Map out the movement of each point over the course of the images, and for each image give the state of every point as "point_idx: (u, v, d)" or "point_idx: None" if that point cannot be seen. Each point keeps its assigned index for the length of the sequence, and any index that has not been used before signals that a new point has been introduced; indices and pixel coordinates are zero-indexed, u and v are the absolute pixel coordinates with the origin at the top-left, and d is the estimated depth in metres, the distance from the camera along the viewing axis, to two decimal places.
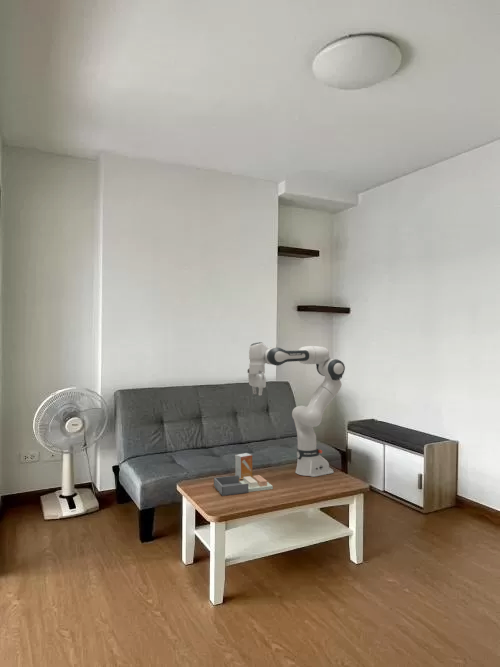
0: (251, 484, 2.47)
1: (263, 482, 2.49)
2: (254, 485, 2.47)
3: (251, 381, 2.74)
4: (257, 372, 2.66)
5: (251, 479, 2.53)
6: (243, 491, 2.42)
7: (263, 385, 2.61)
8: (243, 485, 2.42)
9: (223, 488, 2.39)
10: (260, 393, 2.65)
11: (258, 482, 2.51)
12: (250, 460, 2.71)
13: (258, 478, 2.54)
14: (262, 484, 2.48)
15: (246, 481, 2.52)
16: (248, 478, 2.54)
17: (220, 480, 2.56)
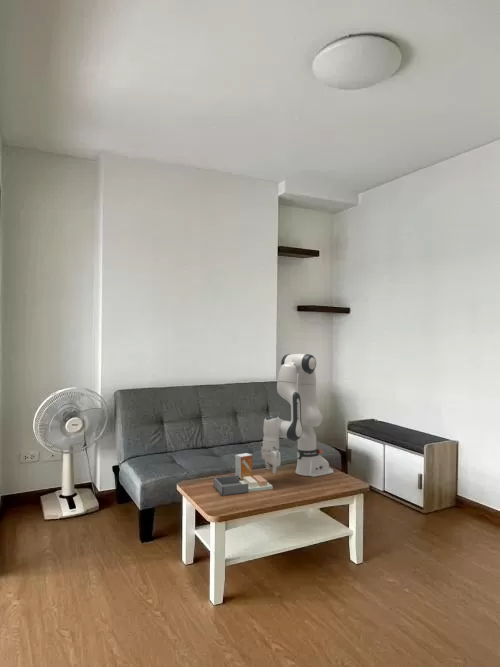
0: (251, 484, 2.47)
1: (263, 482, 2.49)
2: (254, 485, 2.47)
3: (264, 455, 2.61)
4: (271, 448, 2.52)
5: (251, 479, 2.53)
6: (243, 491, 2.42)
7: (278, 464, 2.47)
8: (243, 485, 2.42)
9: (223, 488, 2.39)
10: (274, 471, 2.51)
11: (258, 482, 2.51)
12: (250, 460, 2.71)
13: (258, 478, 2.54)
14: (262, 484, 2.48)
15: (246, 481, 2.52)
16: (248, 478, 2.54)
17: (220, 480, 2.56)
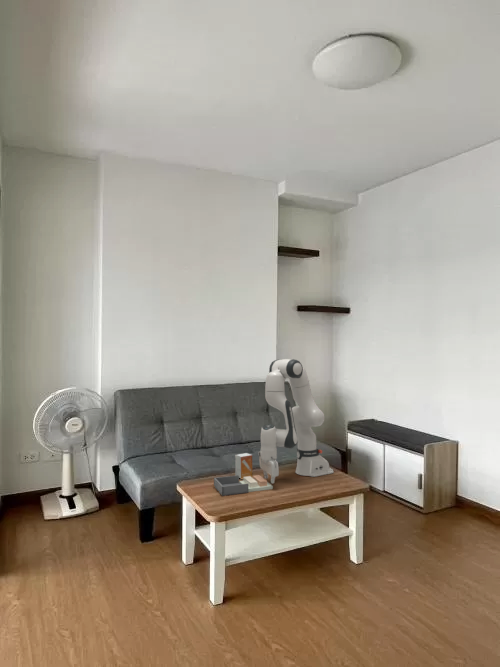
0: (251, 484, 2.47)
1: (263, 482, 2.49)
2: (254, 485, 2.47)
3: (262, 465, 2.60)
4: (269, 458, 2.52)
5: (251, 479, 2.53)
6: (243, 491, 2.42)
7: (276, 474, 2.47)
8: (243, 485, 2.42)
9: (223, 488, 2.39)
10: (272, 481, 2.51)
11: (258, 482, 2.51)
12: (250, 460, 2.71)
13: (258, 478, 2.54)
14: (262, 484, 2.48)
15: (246, 481, 2.52)
16: (248, 478, 2.54)
17: (220, 480, 2.56)
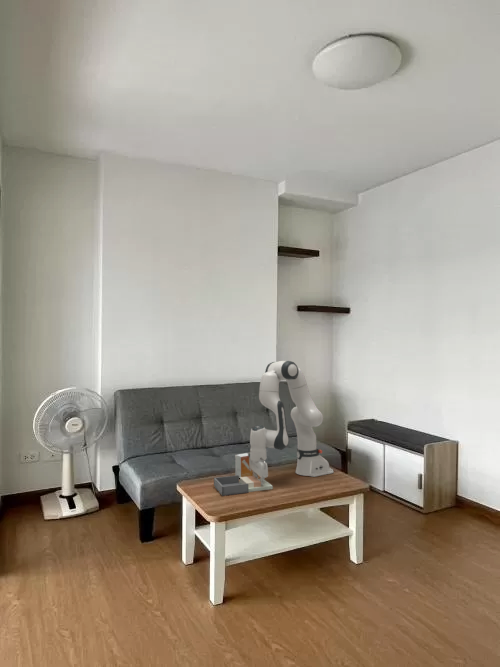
0: None
1: (257, 483, 2.48)
2: (250, 485, 2.46)
3: (252, 466, 2.58)
4: (258, 459, 2.50)
5: (247, 479, 2.52)
6: (243, 491, 2.42)
7: (265, 475, 2.45)
8: (243, 485, 2.42)
9: (223, 488, 2.39)
10: (262, 482, 2.49)
11: None
12: None
13: (252, 479, 2.53)
14: (256, 485, 2.47)
15: (242, 481, 2.52)
16: (245, 479, 2.53)
17: (220, 480, 2.56)
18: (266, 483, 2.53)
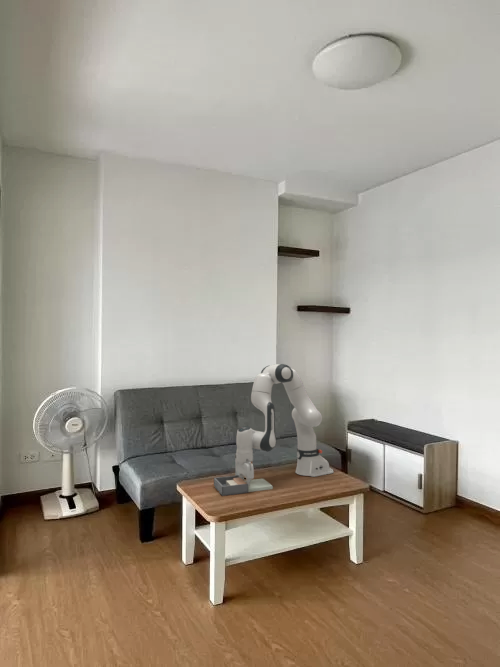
0: None
1: None
2: None
3: (238, 467, 2.56)
4: (245, 460, 2.48)
5: (233, 483, 2.49)
6: (243, 491, 2.42)
7: (251, 476, 2.42)
8: (243, 485, 2.42)
9: (223, 488, 2.39)
10: (248, 483, 2.46)
11: None
12: None
13: (238, 481, 2.51)
14: None
15: (228, 485, 2.49)
16: (231, 482, 2.51)
17: (220, 480, 2.56)
18: (266, 483, 2.53)
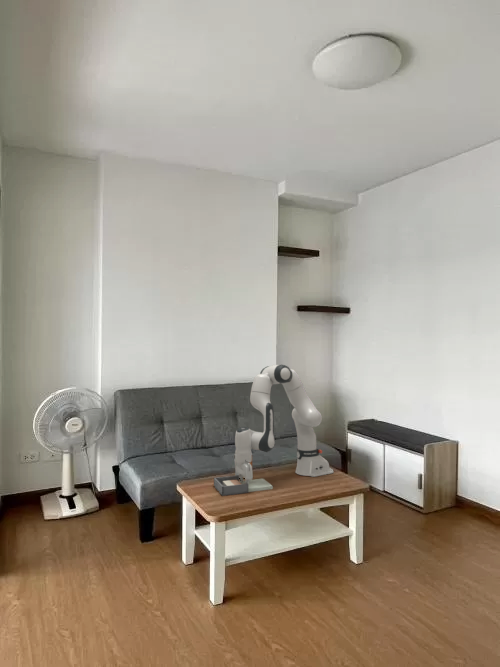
0: None
1: None
2: None
3: (237, 468, 2.56)
4: (243, 461, 2.48)
5: (230, 483, 2.49)
6: (243, 491, 2.42)
7: (249, 477, 2.42)
8: (243, 485, 2.42)
9: (223, 488, 2.39)
10: None
11: None
12: None
13: (234, 483, 2.50)
14: None
15: (225, 485, 2.49)
16: (227, 483, 2.50)
17: (220, 480, 2.56)
18: (266, 483, 2.53)
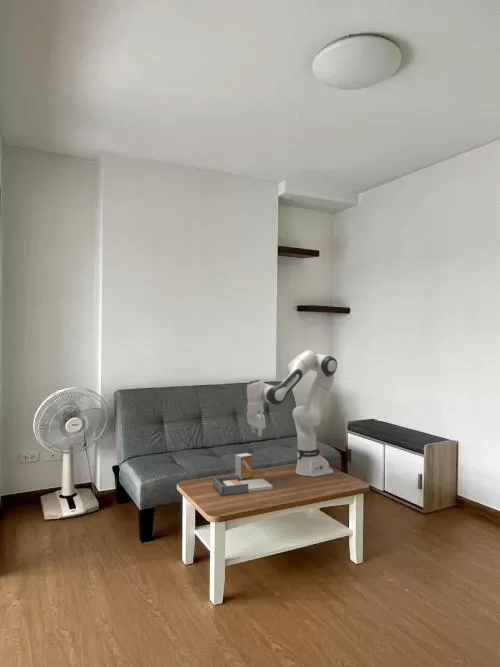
0: None
1: None
2: None
3: (250, 420, 2.65)
4: (256, 412, 2.56)
5: (230, 483, 2.49)
6: (243, 491, 2.42)
7: (262, 426, 2.51)
8: (243, 485, 2.42)
9: (223, 488, 2.39)
10: (260, 434, 2.55)
11: None
12: (250, 460, 2.71)
13: (234, 483, 2.50)
14: None
15: (225, 485, 2.49)
16: (227, 483, 2.50)
17: (220, 480, 2.56)
18: (266, 483, 2.53)
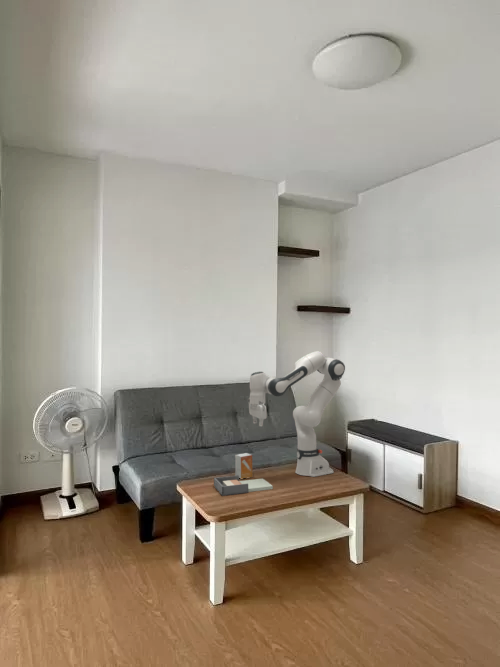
0: None
1: None
2: None
3: (251, 411, 2.70)
4: (258, 403, 2.61)
5: (230, 483, 2.49)
6: (243, 491, 2.42)
7: (264, 416, 2.56)
8: (243, 485, 2.42)
9: (223, 488, 2.39)
10: (261, 424, 2.60)
11: None
12: (250, 460, 2.71)
13: (234, 483, 2.50)
14: None
15: (225, 485, 2.49)
16: (227, 483, 2.50)
17: (220, 480, 2.56)
18: (266, 483, 2.53)
